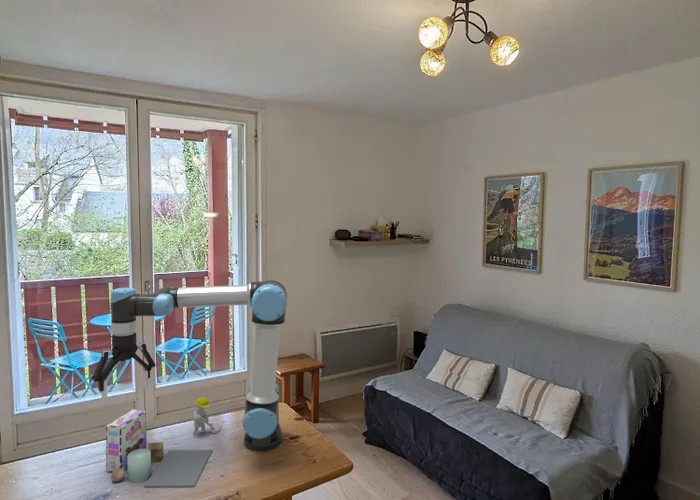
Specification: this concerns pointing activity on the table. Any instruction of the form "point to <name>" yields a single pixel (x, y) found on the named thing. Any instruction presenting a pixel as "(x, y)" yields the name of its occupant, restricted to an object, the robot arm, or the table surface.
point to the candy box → (125, 438)
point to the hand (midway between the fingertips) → (125, 393)
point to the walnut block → (156, 451)
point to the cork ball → (118, 474)
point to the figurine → (200, 420)
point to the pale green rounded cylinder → (139, 465)
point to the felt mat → (179, 469)
